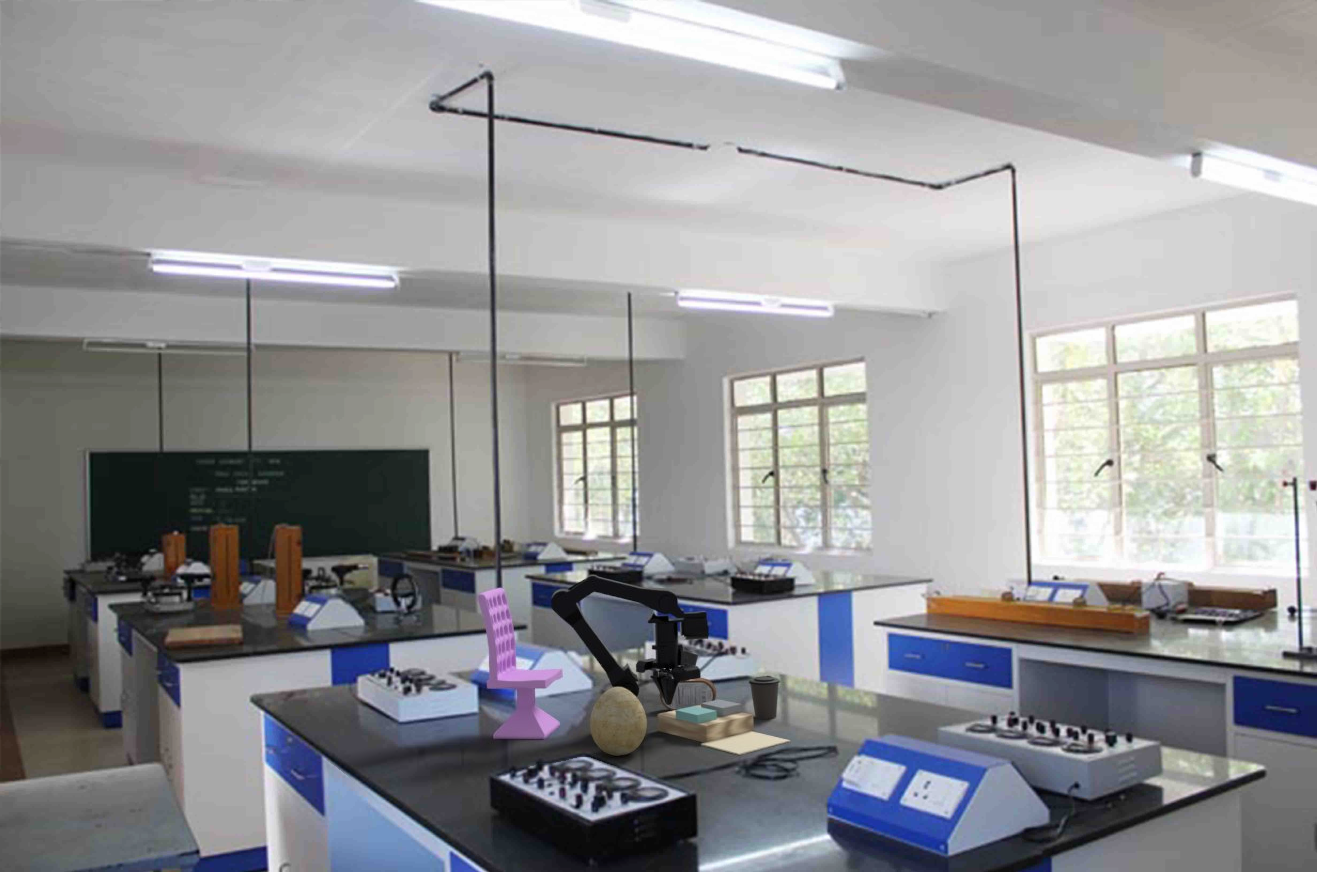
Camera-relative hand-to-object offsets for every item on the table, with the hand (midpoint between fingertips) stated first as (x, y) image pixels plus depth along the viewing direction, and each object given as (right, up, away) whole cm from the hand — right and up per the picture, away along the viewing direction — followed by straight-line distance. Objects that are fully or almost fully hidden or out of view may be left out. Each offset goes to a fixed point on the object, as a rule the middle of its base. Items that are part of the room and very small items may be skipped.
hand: (668, 704), depth 254 cm
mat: (+18, -5, -17) cm, 25 cm away
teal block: (+6, -1, -8) cm, 10 cm away
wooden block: (+9, -6, -4) cm, 11 cm away
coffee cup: (+25, -6, +9) cm, 27 cm away
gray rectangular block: (+13, -1, -1) cm, 13 cm away
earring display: (-36, -8, +2) cm, 37 cm away
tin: (+5, -7, +20) cm, 22 cm away
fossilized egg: (-11, -6, -23) cm, 26 cm away
